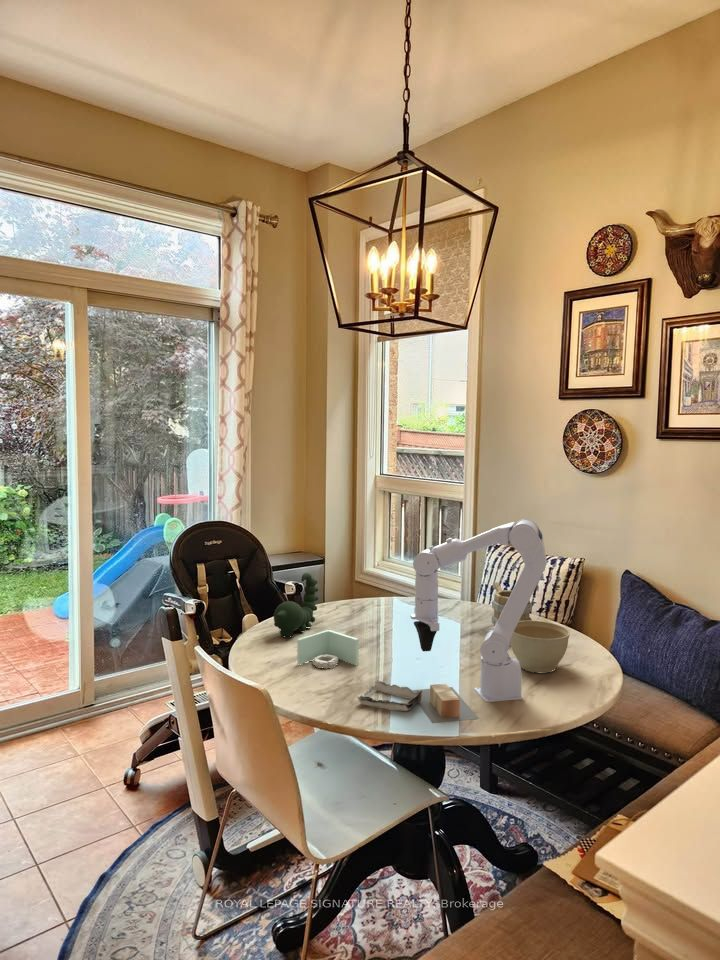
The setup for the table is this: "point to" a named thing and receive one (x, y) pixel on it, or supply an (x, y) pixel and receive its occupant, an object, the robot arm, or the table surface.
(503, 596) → the tankard
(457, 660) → the table surface
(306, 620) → the toy figurine
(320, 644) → the l-shaped corner panel
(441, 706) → the birch block
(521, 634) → the planter bowl
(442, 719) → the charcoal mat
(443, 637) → the table surface
